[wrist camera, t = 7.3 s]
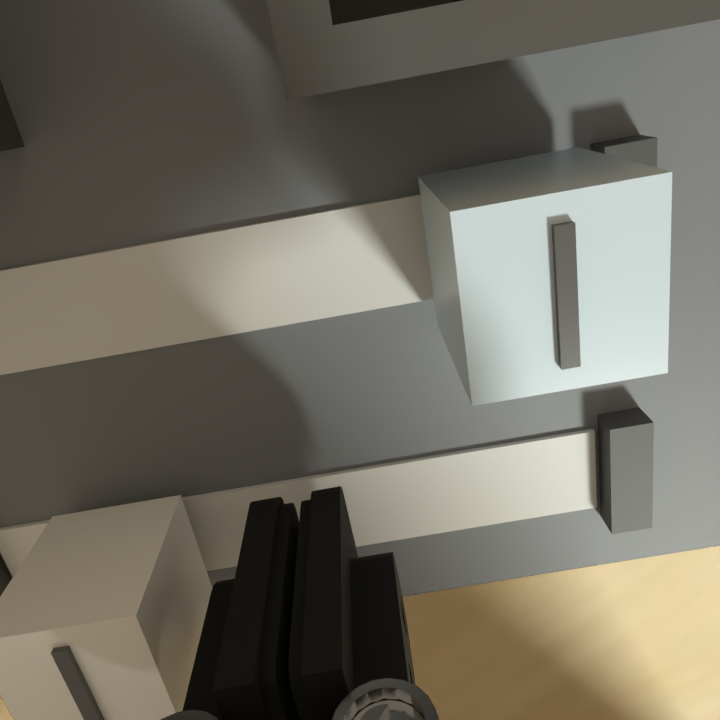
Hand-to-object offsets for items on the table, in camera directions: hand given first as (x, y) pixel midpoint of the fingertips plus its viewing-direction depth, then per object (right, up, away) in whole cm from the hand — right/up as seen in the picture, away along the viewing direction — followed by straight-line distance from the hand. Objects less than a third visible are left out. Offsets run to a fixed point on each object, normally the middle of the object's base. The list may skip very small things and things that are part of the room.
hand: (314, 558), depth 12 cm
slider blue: (+3, +6, -1) cm, 7 cm away
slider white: (-4, 0, +1) cm, 4 cm away
